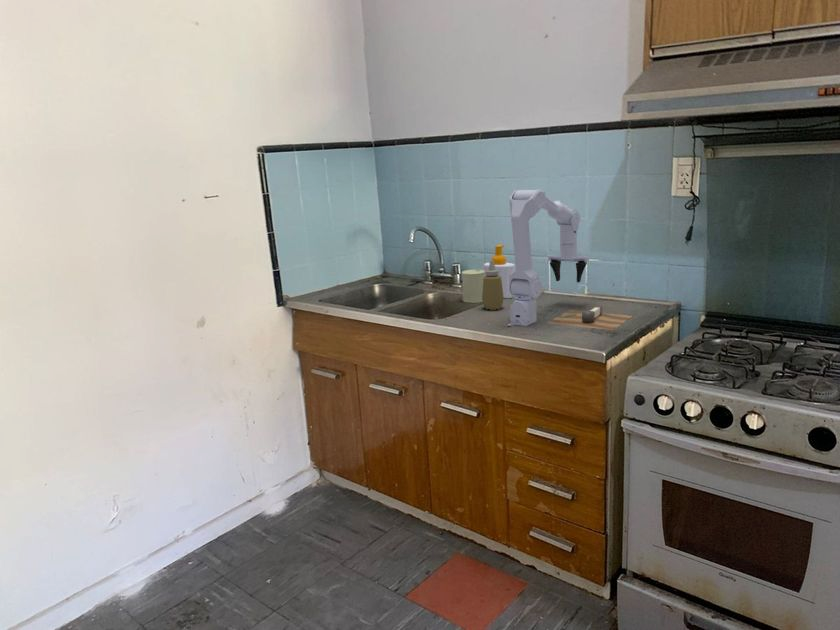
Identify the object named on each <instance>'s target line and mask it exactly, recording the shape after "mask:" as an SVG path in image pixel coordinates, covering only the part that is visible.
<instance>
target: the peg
mask: <svg viewBox="0 0 840 630" xmlns="http://www.w3.org/2000/svg"><path fill="white" fill-rule="evenodd" d="M582 311H583V310H582ZM602 313H603V305H602V306H601V305H597V306H594V308H592V309H591V310H584V311H583V312H582V322H585V323H592V322H594V321H595V318H596V317H597V316H599V315H600V314H602Z"/></svg>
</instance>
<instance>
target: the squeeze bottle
mask: <svg viewBox="0 0 840 630" xmlns="http://www.w3.org/2000/svg"><path fill="white" fill-rule="evenodd" d="M489 263H490V265H489V270H486V275H487V276H485V277H484V278H483V292H482V301H483V302H482V304H483V306H484V309H485V308H486V309H485V310H488V309H490V310H489V311H497V310H501V309H500V308H502V305H503V302H504V299H505V298H504V296H503V288H502V280H501V277H500V276H499V275H498V274H499V273H498V270H496V269H495V265H494V261H493V260H492V259H491V260H490V261H489ZM496 309H497V310H496Z"/></svg>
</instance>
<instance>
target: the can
mask: <svg viewBox="0 0 840 630" xmlns="http://www.w3.org/2000/svg"><path fill="white" fill-rule="evenodd" d="M484 277H485V271H484V269H467V270H463V271H461V280H462V302H464V303H467V304H468V303H469V304H477V303H478V304H479V303H483V301H482V292H483V278H484Z"/></svg>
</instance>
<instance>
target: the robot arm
mask: <svg viewBox="0 0 840 630" xmlns="http://www.w3.org/2000/svg"><path fill="white" fill-rule="evenodd" d="M508 201H509V212H510V218H511V219H510V220H511V228H512V229H511V231H512V241H513V242H512V243H513V254H514V262H515V263H514V265H515V271H514V272H512V273H511V275H510V276H509V277H510V281H509V292H510V294H511V295H512V298H511V299H514V300H513V302H512V303H511V305H510V307H509V323H508V324H507V326H508V327H514V326H525V327H527V326H529V325H531V324H535V323H537V321H538V320H537V299H538V298H539V297H540V295H541V293H542V291H543V289H542V288H543V286H542V283H541V280H540V275H539V273H538V272H537V271H536V270H535V269H534V268H533V259H532V250H531V248H532V246H531V237H530V236H531V233H530V223H529V221H530V220H531V218H533V217H535V216H536V215H537V214H538V213H539V212H540V211H541V210H542V209H543V210H545V211H547V214H548V216H549V217H550V218H552V219H554V220H556V224H557V225H558V226H560V227H559V240H560V241H559V254H548V255H547V261H548V262H549V265H550V267H551V269H552V271H553V274H554V276H555V277H554V278H555V280H556V282H559V281H561V265H562V262H575V267H576V268H575V269H576V283H580V282H581V281H582V276H583V273H584V270H585V269H586V266H587V264H588V263H589V262H590V256H589V255H581V254H580V255H579V254H578V253H577V251H578V249H577V246H578V244H577V243H578V239H577V238H578V231H579V224H580V222H581V215H580V212H579V211H578V210H577V209H571V208H570V207H569V206H568V205H565V204H564V203H563V201H561V200H555V201H554V200H552V199H550V198H549V197H548V196H547V193H546V192H545V191H543V190H542V189H515V190H513V191H512V194H511V195H510V197H509V199H508Z"/></svg>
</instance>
